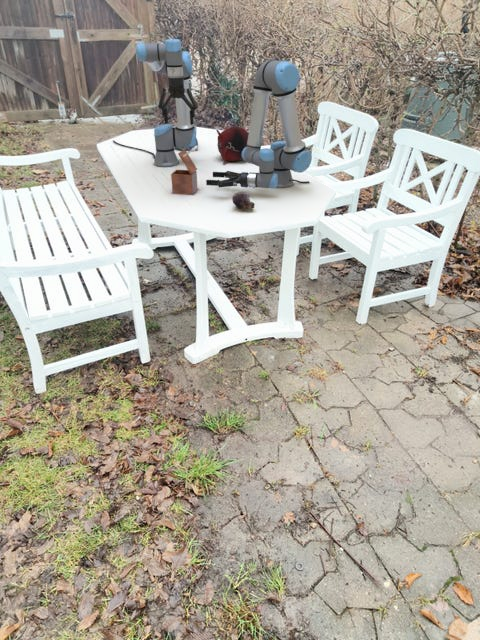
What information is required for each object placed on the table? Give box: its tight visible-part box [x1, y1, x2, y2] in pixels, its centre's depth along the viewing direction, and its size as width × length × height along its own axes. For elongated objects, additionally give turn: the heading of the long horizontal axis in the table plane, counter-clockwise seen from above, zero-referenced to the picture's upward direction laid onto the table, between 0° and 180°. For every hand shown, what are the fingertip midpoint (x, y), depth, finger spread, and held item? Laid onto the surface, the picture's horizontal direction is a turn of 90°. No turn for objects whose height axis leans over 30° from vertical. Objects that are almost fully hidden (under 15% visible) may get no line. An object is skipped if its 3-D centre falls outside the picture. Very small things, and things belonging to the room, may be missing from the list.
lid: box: [177, 145, 199, 174], centre depth 238 cm, size 12×9×8 cm
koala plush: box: [174, 137, 199, 151], centre depth 321 cm, size 17×18×20 cm
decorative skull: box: [216, 126, 249, 165], centre depth 296 cm, size 21×24×25 cm
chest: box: [170, 169, 199, 196], centre depth 246 cm, size 12×9×10 cm
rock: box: [232, 192, 256, 211], centre depth 223 cm, size 12×9×10 cm
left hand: (179, 123), depth 229 cm, fingers open, 13 cm apart
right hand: (209, 178), depth 242 cm, fingers open, 13 cm apart
